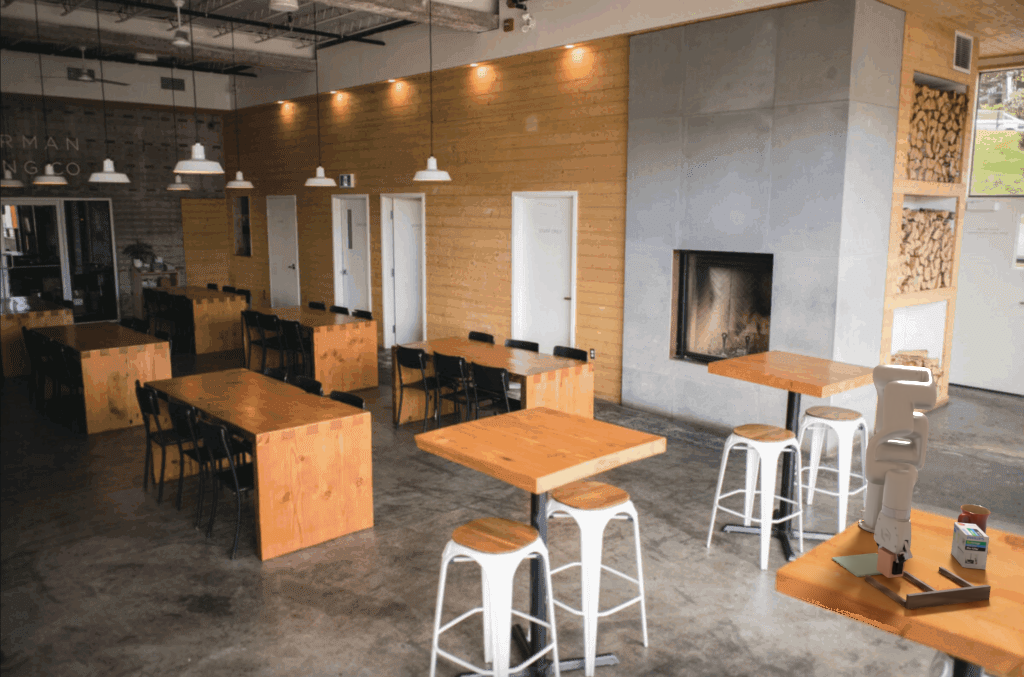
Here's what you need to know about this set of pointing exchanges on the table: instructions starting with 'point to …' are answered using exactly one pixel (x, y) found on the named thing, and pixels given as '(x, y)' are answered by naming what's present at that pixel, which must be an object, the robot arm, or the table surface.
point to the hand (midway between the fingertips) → (890, 568)
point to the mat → (859, 564)
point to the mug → (974, 516)
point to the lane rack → (936, 592)
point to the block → (886, 563)
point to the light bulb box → (970, 545)
